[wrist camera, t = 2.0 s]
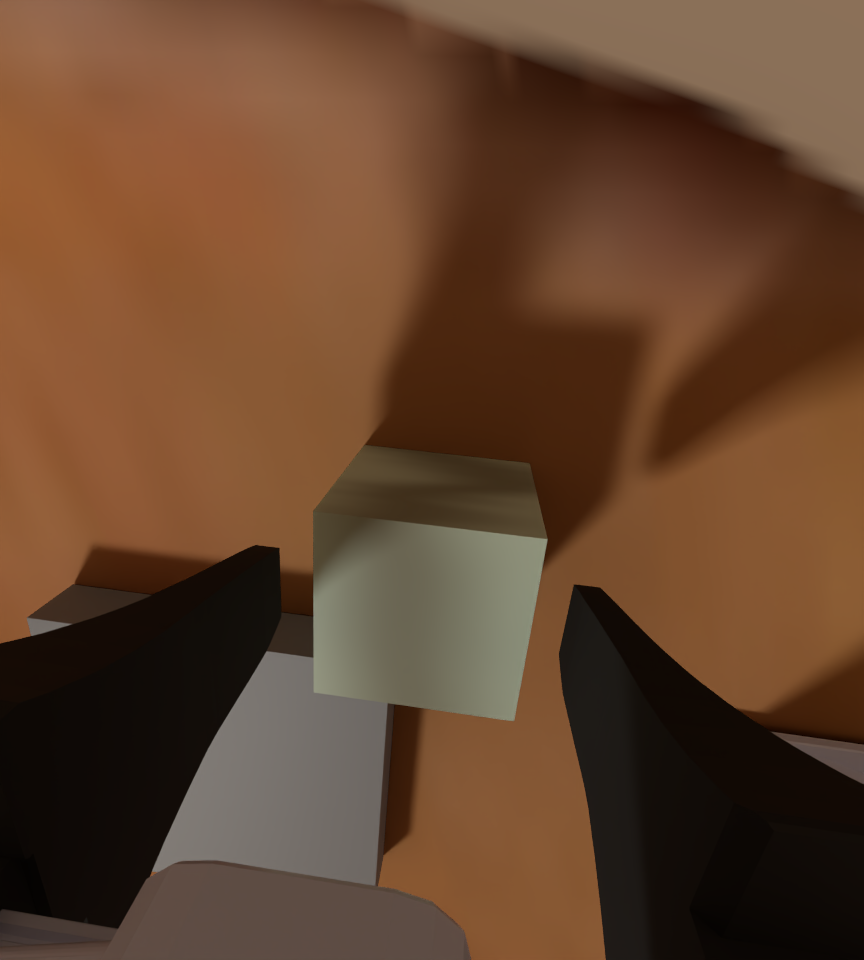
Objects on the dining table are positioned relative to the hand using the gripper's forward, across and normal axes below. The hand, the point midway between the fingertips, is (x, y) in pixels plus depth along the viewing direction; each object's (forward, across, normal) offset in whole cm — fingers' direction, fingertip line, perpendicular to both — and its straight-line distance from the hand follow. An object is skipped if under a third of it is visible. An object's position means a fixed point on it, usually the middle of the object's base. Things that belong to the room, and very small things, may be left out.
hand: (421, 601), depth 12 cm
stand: (+4, +7, +10) cm, 13 cm away
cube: (+4, 0, 0) cm, 4 cm away
